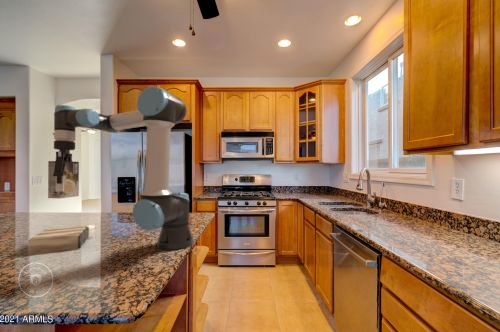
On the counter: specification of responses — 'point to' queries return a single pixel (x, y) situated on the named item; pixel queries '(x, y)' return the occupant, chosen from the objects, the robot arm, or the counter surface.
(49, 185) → the coffee box
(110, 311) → the counter surface
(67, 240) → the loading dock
